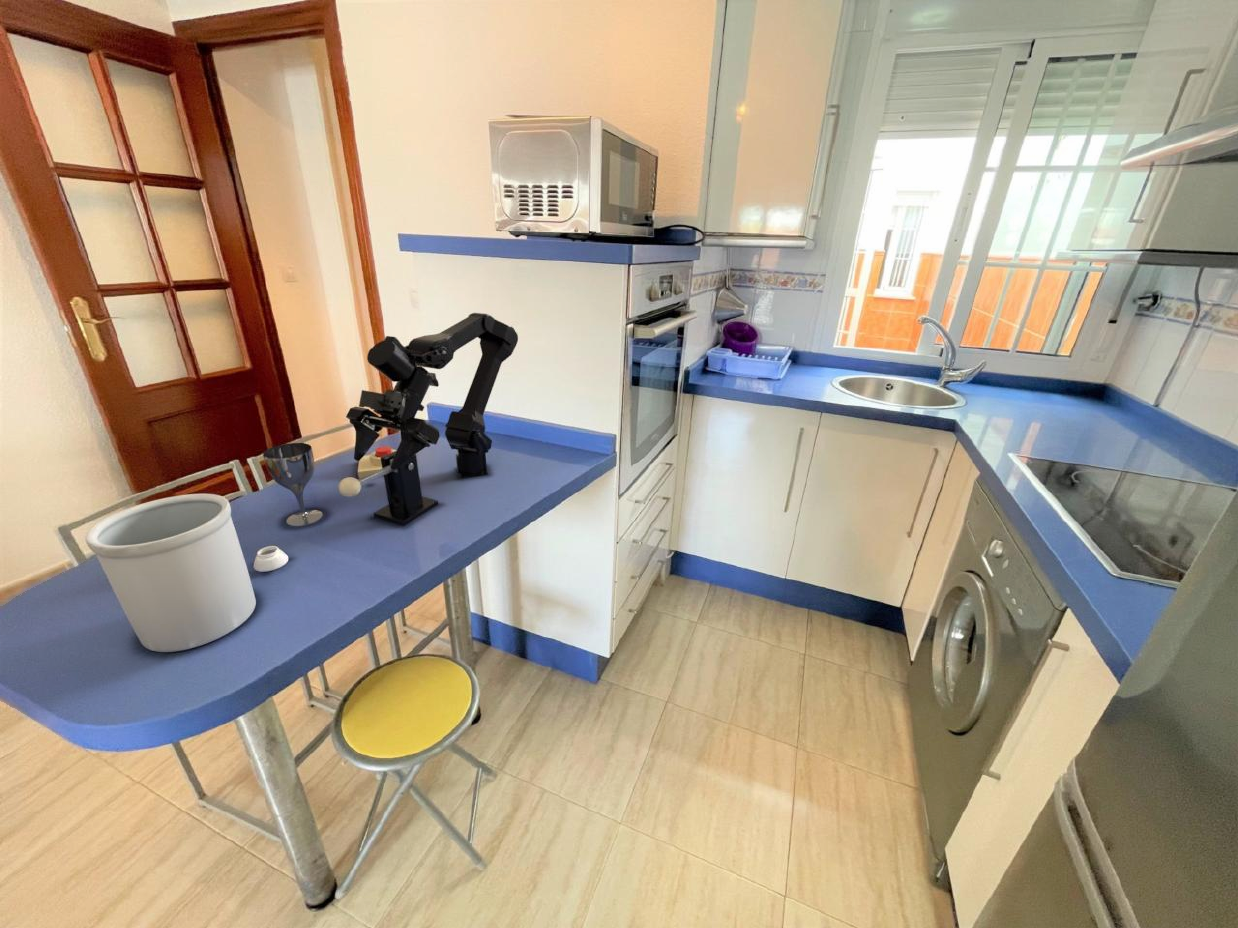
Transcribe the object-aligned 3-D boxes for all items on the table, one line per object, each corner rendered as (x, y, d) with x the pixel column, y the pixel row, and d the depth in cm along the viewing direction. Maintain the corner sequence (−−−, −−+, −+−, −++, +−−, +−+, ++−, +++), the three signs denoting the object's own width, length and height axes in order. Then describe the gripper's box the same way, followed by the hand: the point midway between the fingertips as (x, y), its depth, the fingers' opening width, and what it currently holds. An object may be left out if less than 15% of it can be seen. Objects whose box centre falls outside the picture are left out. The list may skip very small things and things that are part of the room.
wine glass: (336, 514, 104) (320, 447, 98) (299, 532, 97) (280, 461, 91) (310, 505, 107) (293, 440, 101) (273, 522, 100) (253, 453, 94)
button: (392, 452, 127) (391, 445, 126) (392, 457, 124) (391, 450, 123) (376, 453, 126) (375, 447, 125) (376, 459, 123) (375, 452, 122)
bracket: (404, 526, 100) (394, 468, 95) (374, 518, 103) (363, 461, 98) (438, 505, 109) (431, 450, 104) (409, 497, 112) (401, 444, 106)
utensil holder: (127, 619, 74) (80, 516, 67) (246, 576, 85) (215, 483, 77) (142, 673, 65) (89, 562, 58) (273, 618, 75) (241, 517, 68)
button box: (411, 456, 132) (409, 444, 131) (412, 471, 124) (410, 458, 123) (360, 462, 128) (358, 449, 127) (358, 478, 120) (356, 464, 118)
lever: (350, 501, 90) (347, 483, 88) (335, 497, 91) (332, 479, 90) (412, 471, 103) (410, 455, 101) (399, 468, 104) (396, 452, 103)
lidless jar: (273, 554, 90) (247, 570, 86) (269, 540, 89) (242, 556, 85) (295, 559, 89) (271, 575, 85) (291, 545, 88) (266, 561, 84)
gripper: (344, 366, 96) (305, 438, 91) (421, 378, 90) (383, 456, 85) (383, 395, 106) (349, 461, 101) (454, 408, 100) (422, 479, 95)
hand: (374, 464), depth 95 cm, fingers open, 9 cm apart
